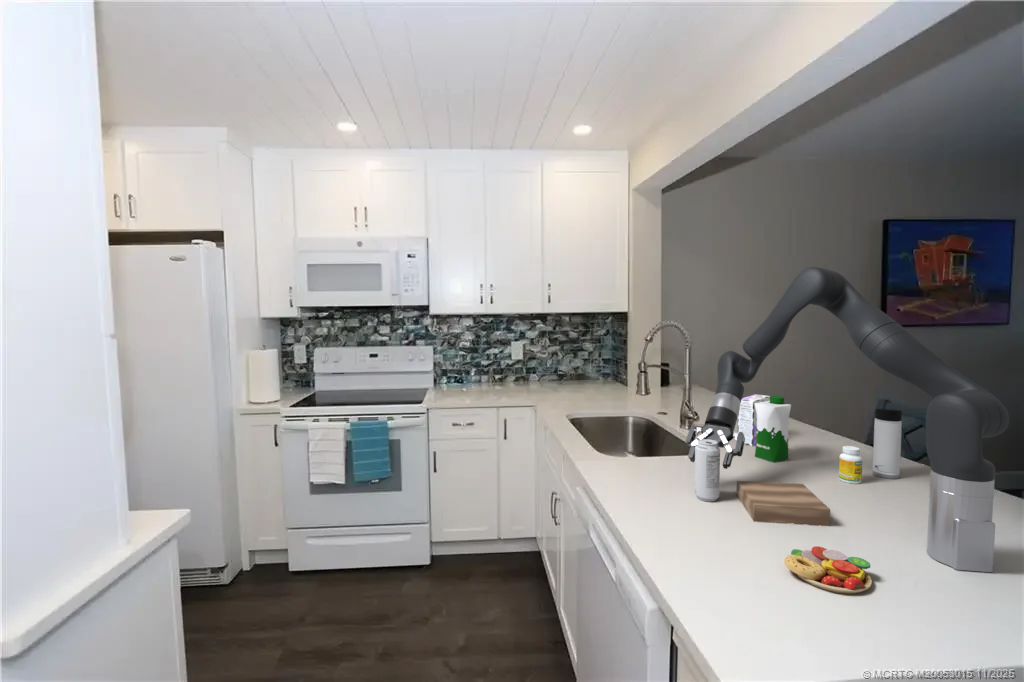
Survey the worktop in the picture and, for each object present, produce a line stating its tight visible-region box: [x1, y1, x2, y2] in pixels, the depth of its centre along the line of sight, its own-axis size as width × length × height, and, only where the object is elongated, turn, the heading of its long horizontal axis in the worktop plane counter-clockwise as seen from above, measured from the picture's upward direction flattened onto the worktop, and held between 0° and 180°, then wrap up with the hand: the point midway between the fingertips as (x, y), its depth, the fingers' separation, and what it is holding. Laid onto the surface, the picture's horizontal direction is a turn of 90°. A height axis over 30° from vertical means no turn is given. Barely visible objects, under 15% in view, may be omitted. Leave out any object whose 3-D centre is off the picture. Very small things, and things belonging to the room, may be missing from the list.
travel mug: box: [872, 408, 903, 480], centre depth 143 cm, size 6×7×20 cm
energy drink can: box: [694, 439, 721, 503], centre depth 129 cm, size 6×6×15 cm
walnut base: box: [735, 480, 831, 527], centre depth 122 cm, size 16×16×4 cm
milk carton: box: [754, 395, 792, 463], centre depth 161 cm, size 9×9×20 cm
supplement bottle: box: [838, 445, 863, 485], centre depth 140 cm, size 5×5×10 cm
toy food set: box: [783, 546, 873, 595], centre depth 93 cm, size 13×13×3 cm
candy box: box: [737, 393, 771, 447], centre depth 181 cm, size 14×6×16 cm, turn 130°
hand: (707, 463), depth 130 cm, fingers open, 8 cm apart
